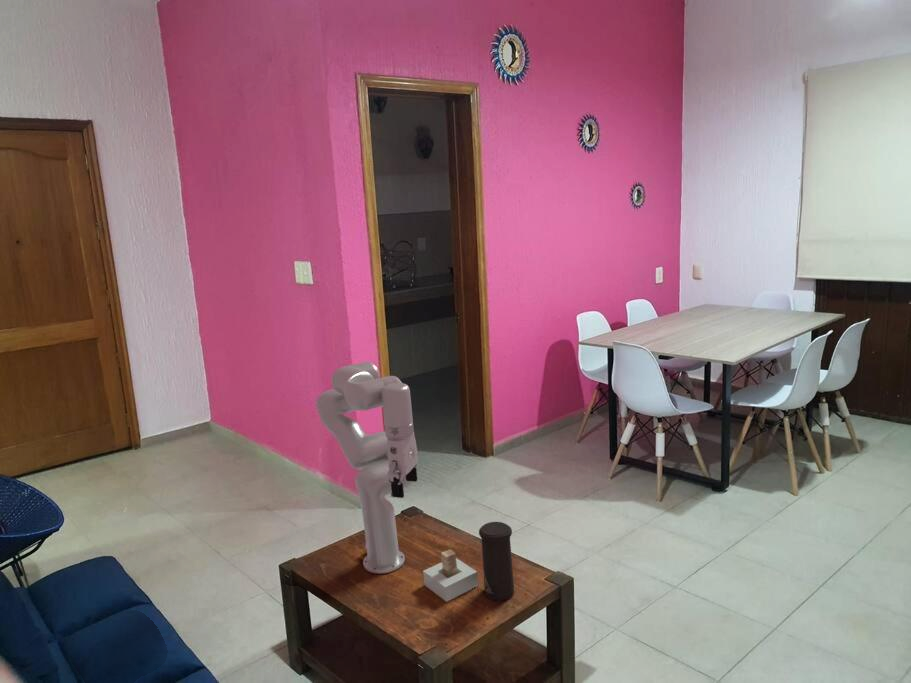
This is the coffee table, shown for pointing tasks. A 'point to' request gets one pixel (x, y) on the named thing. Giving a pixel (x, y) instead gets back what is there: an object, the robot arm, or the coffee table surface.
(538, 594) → the coffee table surface
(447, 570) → the birch stick
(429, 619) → the coffee table surface
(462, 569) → the grey square socket block
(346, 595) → the coffee table surface
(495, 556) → the container
